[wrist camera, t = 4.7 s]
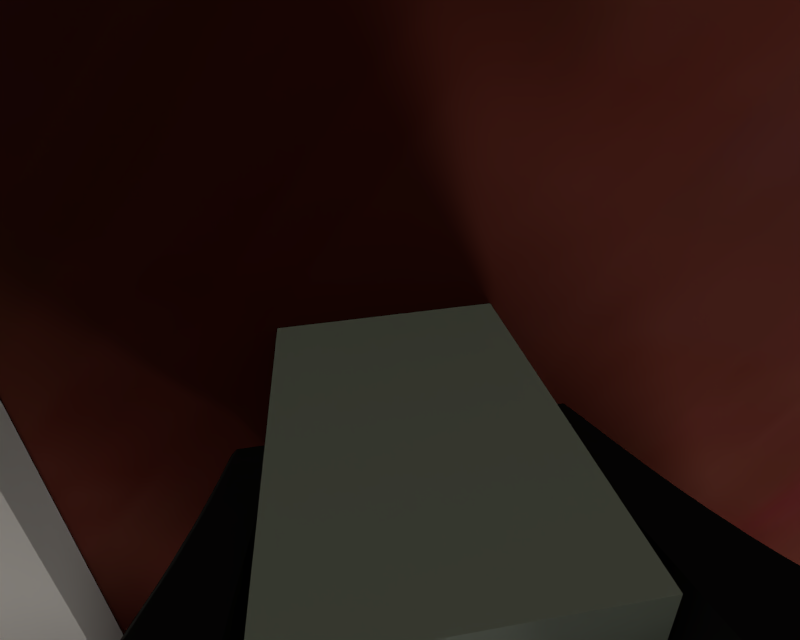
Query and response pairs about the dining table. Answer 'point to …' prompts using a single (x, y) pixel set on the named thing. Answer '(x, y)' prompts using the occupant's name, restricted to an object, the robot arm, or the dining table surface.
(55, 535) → the pad
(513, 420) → the sage block
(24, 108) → the dining table surface
